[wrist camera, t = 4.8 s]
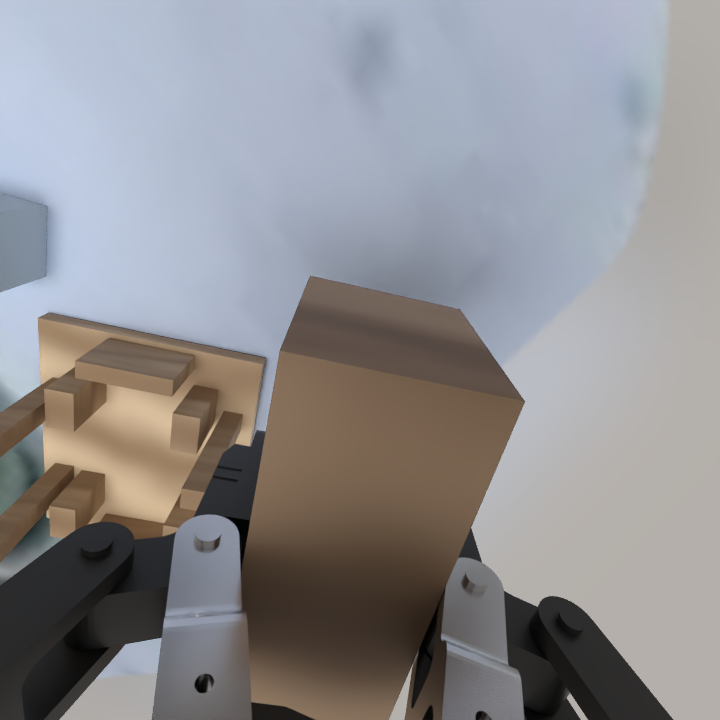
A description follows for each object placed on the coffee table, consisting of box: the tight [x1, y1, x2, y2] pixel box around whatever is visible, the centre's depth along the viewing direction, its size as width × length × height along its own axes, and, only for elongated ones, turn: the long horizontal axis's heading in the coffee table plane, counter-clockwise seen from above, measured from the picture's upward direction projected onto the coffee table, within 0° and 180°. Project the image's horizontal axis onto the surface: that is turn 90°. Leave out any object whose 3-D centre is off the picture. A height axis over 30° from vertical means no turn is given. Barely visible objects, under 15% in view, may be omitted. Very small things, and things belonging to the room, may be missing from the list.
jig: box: [0, 313, 266, 562], centre depth 26 cm, size 15×13×8 cm
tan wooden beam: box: [241, 276, 525, 720], centre depth 12 cm, size 11×4×5 cm, turn 167°
